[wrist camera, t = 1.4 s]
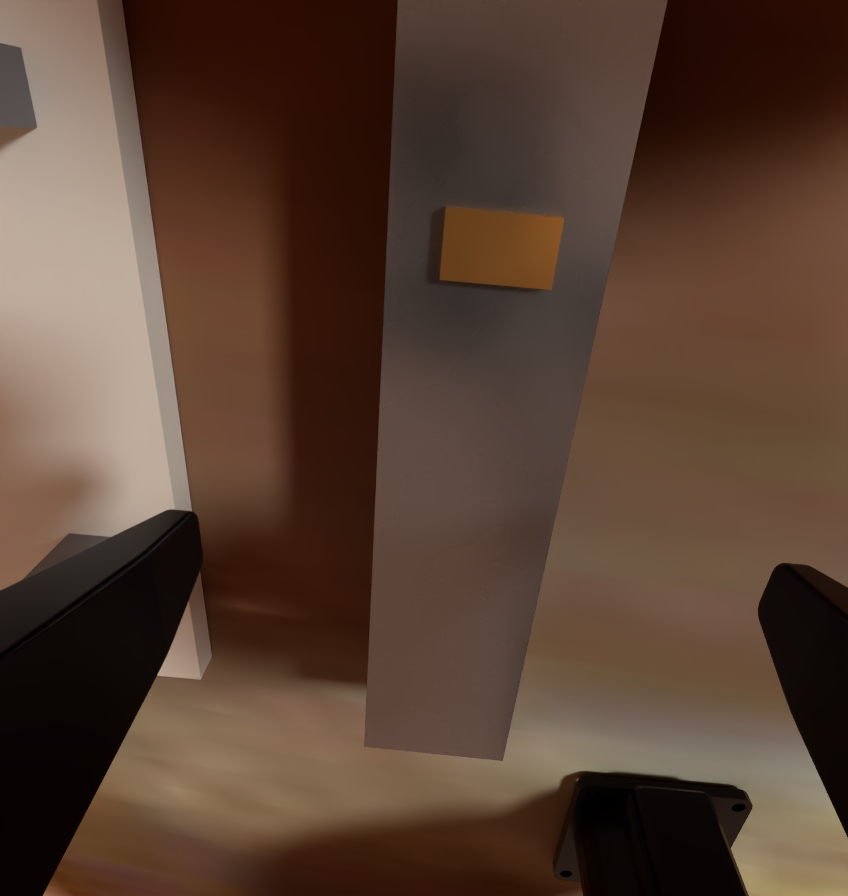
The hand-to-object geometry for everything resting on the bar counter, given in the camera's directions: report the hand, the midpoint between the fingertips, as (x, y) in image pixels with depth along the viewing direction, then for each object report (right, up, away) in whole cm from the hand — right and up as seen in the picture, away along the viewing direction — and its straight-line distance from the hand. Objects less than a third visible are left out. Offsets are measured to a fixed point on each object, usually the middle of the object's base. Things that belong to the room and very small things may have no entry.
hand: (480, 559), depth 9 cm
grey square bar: (0, +4, +7) cm, 8 cm away
